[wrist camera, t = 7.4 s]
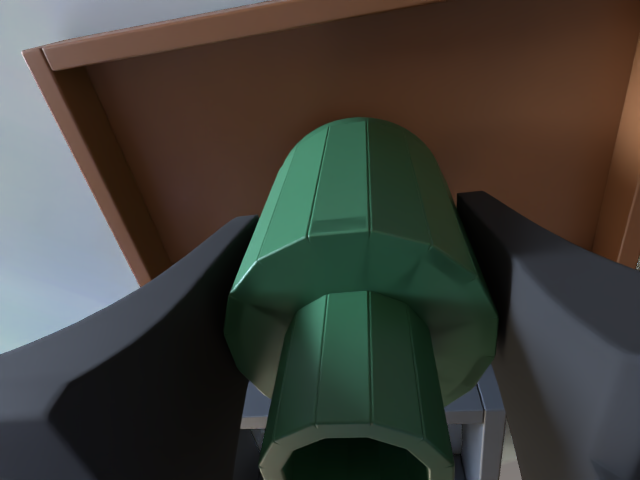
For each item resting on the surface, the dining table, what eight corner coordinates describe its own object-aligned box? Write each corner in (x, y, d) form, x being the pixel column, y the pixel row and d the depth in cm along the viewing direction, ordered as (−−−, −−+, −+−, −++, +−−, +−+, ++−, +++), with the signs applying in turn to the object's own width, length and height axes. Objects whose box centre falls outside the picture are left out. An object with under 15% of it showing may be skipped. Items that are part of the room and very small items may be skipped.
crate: (252, 464, 25) (237, 531, 22) (200, 350, 19) (172, 419, 17) (476, 462, 23) (493, 535, 20) (483, 335, 17) (508, 409, 15)
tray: (190, 317, 18) (172, 352, 17) (65, 39, 12) (19, 51, 11) (591, 289, 16) (618, 328, 14) (677, -77, 10) (742, -86, 8)
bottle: (294, 270, 15) (232, 554, 8) (259, 129, 12) (113, 366, 5) (444, 258, 14) (529, 562, 7) (442, 104, 11) (584, 342, 4)
